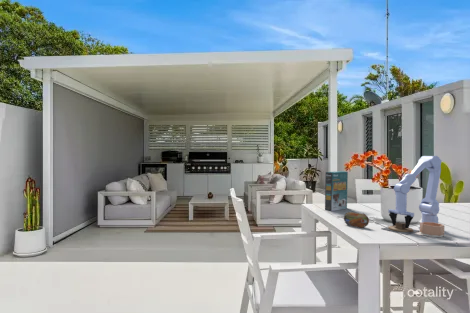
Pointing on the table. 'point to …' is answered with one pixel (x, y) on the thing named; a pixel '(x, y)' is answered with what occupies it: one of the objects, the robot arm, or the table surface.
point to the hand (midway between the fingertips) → (400, 226)
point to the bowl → (432, 229)
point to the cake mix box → (336, 190)
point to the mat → (401, 232)
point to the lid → (400, 227)
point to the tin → (356, 219)
